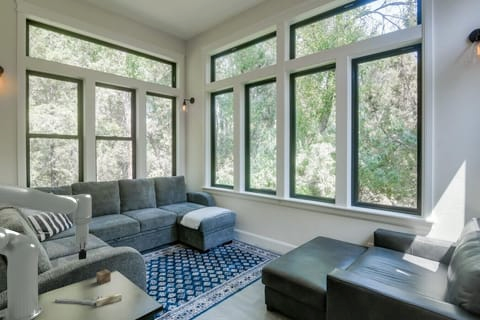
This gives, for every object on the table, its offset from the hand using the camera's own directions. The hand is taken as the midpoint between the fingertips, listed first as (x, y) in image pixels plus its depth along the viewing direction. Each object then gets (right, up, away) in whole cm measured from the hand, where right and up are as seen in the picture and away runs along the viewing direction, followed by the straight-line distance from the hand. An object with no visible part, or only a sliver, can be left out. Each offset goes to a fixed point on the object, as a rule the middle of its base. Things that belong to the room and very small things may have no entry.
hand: (82, 258), depth 122 cm
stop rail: (+16, -17, -7) cm, 25 cm away
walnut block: (+3, -17, +13) cm, 21 cm away
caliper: (+1, -17, -3) cm, 17 cm away
